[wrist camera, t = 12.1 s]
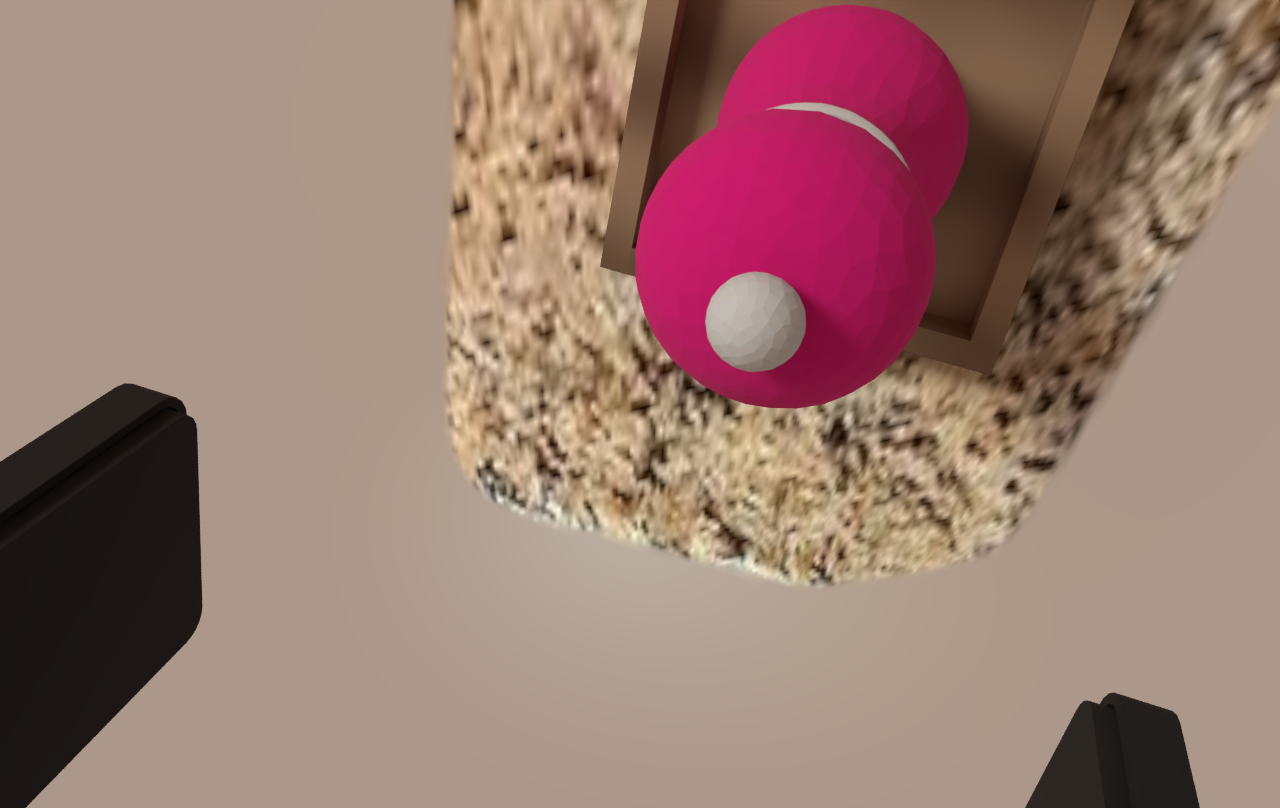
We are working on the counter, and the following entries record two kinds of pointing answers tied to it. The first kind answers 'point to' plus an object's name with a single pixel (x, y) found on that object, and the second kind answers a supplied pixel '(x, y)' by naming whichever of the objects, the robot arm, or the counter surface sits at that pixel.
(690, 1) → the tray
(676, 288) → the pepper mill
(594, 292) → the counter surface
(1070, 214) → the counter surface
